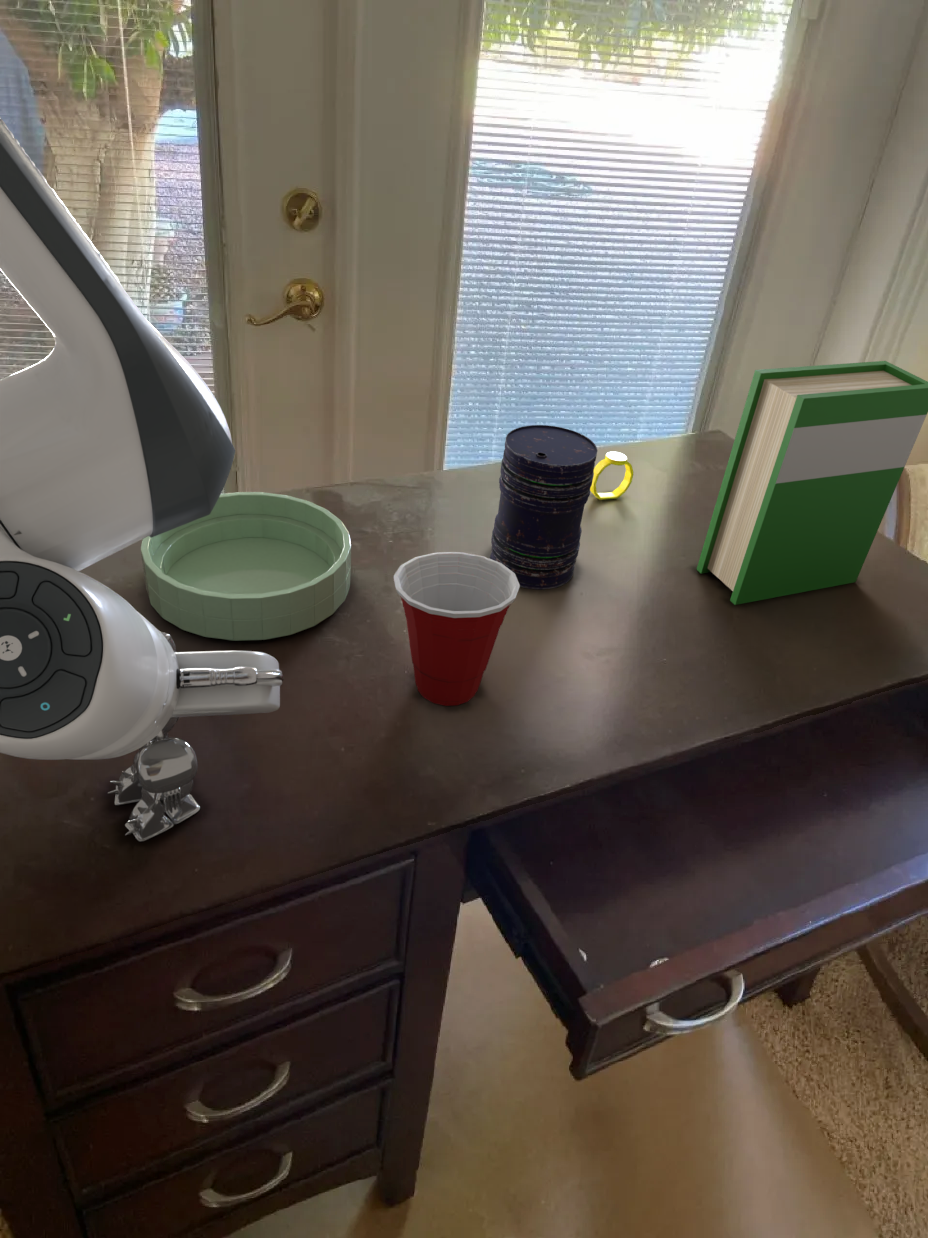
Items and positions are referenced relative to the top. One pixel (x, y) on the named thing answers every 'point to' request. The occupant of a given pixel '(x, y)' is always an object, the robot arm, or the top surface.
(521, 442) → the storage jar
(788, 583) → the hardback book
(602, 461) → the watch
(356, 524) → the top surface
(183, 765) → the robot toy
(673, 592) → the top surface
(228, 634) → the bowl
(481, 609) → the plastic cup
